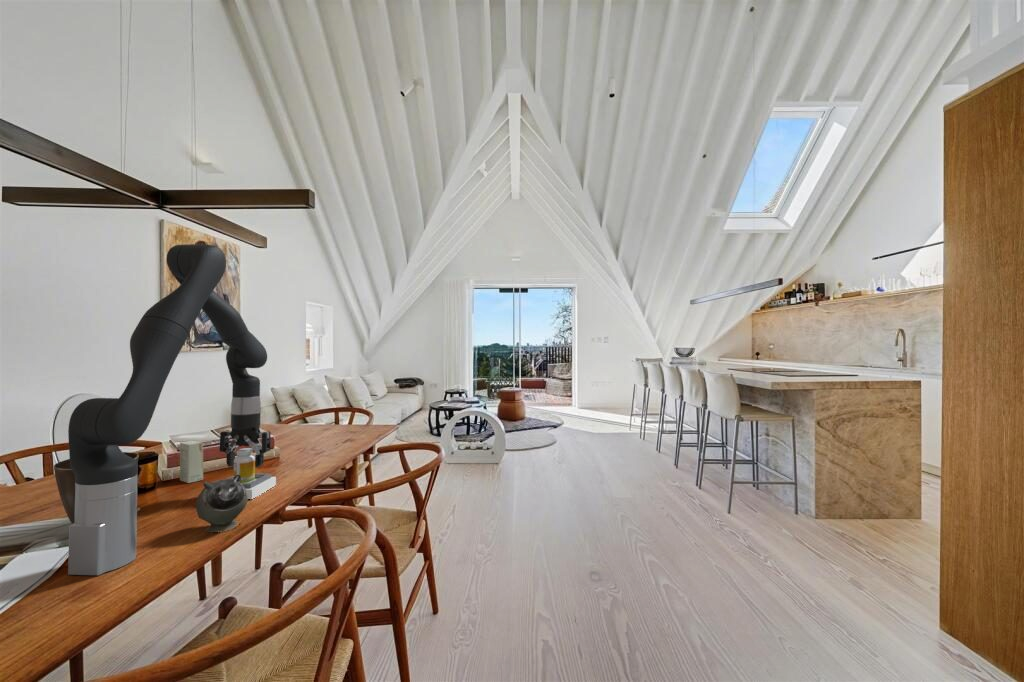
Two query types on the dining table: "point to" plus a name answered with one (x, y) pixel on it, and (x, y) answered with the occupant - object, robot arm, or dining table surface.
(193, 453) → the skincare box
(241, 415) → the robot arm
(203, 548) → the dining table surface
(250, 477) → the supplement bottle
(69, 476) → the plant pot
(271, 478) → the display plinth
